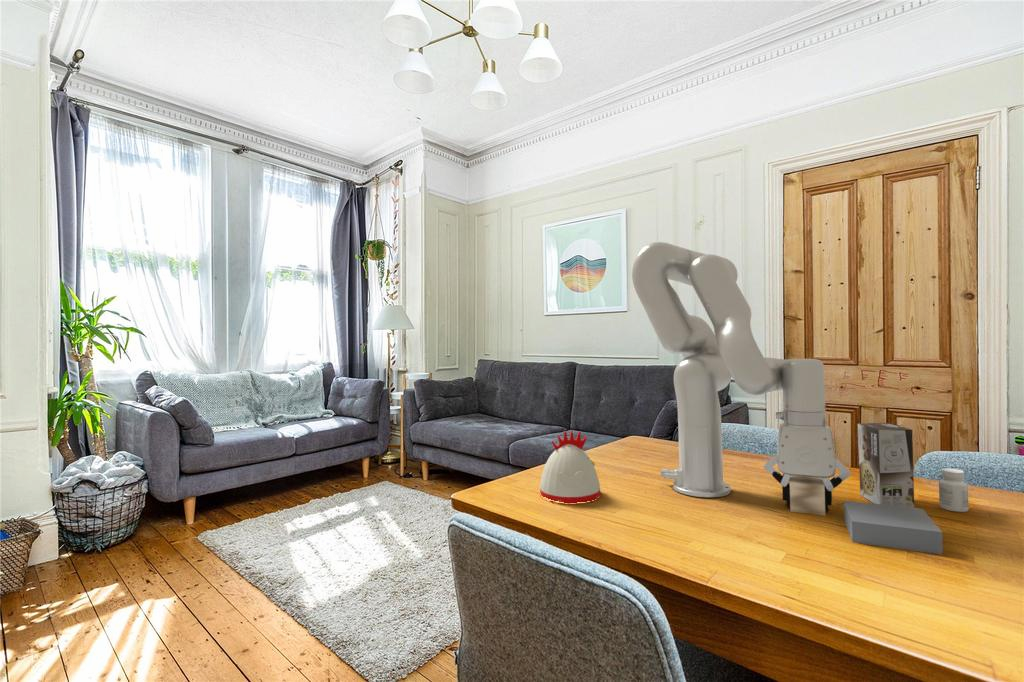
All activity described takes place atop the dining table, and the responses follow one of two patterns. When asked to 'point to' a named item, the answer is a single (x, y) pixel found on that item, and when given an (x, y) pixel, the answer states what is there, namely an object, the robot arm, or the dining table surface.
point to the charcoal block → (892, 527)
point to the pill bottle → (953, 491)
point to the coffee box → (886, 464)
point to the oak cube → (807, 495)
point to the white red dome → (570, 473)
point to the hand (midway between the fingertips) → (806, 505)
